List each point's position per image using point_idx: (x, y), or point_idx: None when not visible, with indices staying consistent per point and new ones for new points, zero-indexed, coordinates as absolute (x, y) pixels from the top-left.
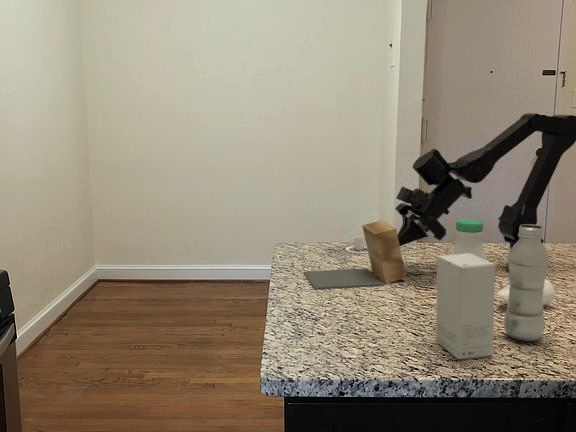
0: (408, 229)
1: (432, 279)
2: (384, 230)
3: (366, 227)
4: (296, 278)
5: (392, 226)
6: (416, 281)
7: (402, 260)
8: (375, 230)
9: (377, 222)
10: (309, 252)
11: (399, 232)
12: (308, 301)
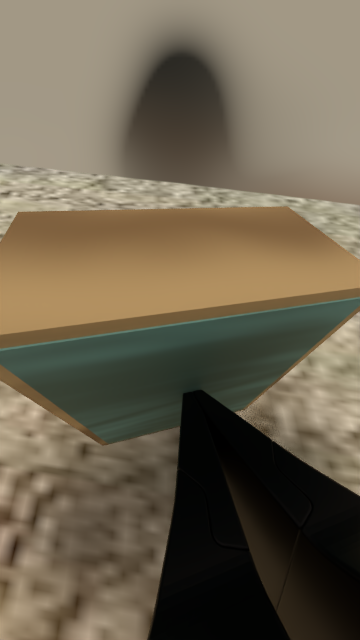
0: (163, 576)
1: (135, 578)
2: (35, 255)
3: (233, 210)
4: (157, 206)
5: (83, 322)
6: (114, 488)
7: (83, 431)
8: (116, 224)
9: (321, 255)
10: (341, 243)
11: (253, 442)
12: (6, 206)
